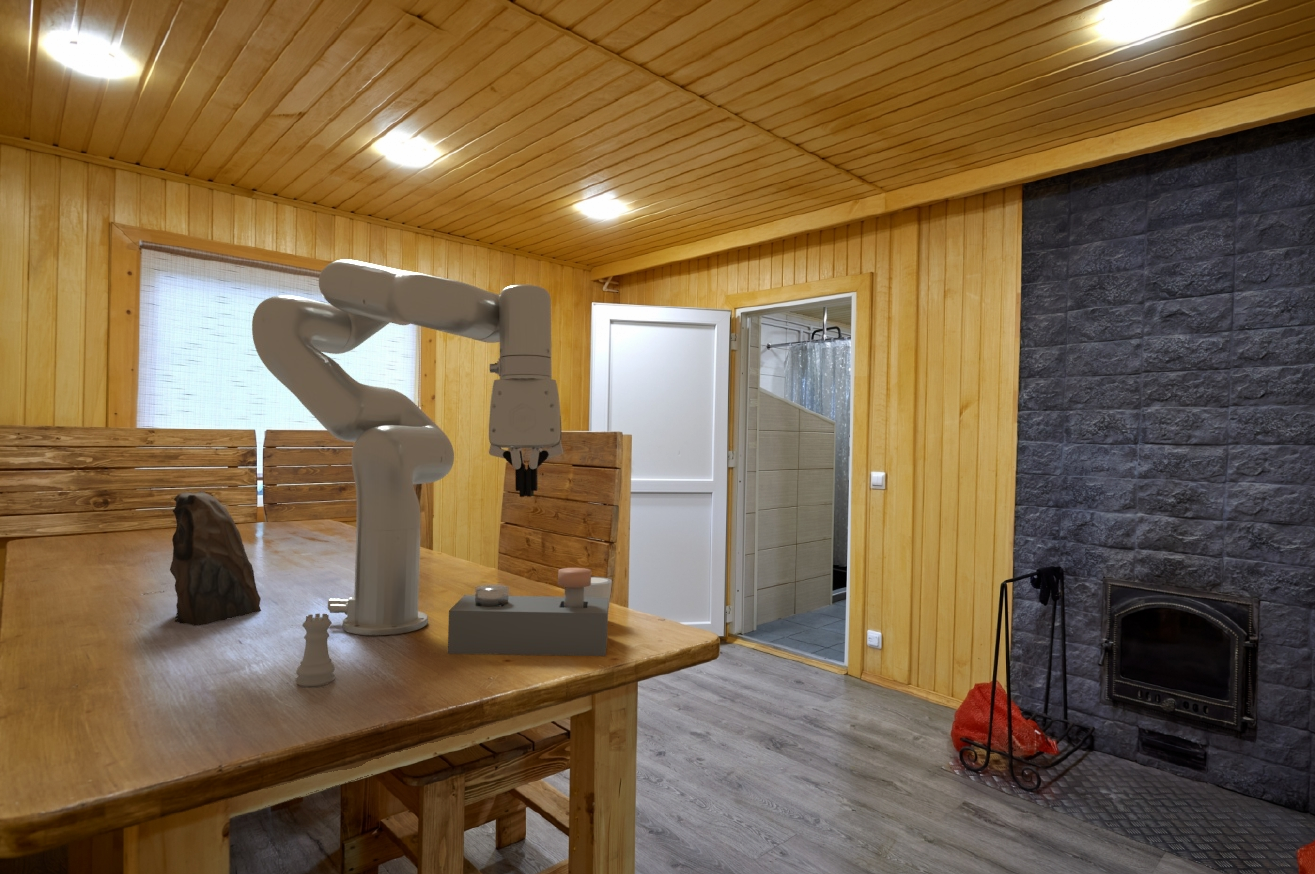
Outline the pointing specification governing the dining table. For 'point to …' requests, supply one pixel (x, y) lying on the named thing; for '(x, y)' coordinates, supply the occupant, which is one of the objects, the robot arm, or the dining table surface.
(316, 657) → the rook chess piece
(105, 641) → the dining table surface
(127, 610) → the dining table surface
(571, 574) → the terracotta plug
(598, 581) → the shot glass
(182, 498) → the brown rock
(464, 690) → the dining table surface
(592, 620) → the press console
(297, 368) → the robot arm
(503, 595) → the steel plug
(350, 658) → the dining table surface
